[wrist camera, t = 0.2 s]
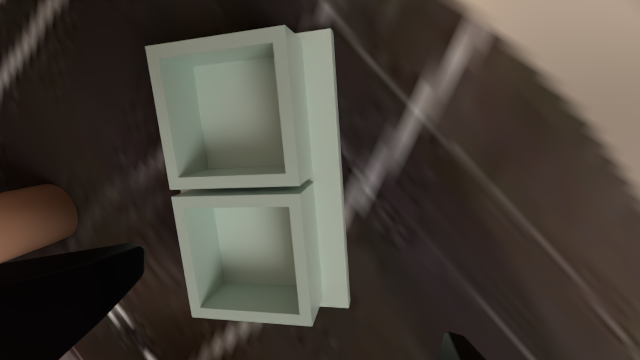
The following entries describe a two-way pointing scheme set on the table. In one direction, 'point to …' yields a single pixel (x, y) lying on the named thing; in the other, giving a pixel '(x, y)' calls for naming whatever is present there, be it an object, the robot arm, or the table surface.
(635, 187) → the table surface
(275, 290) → the compartment organizer
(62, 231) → the tumbler
